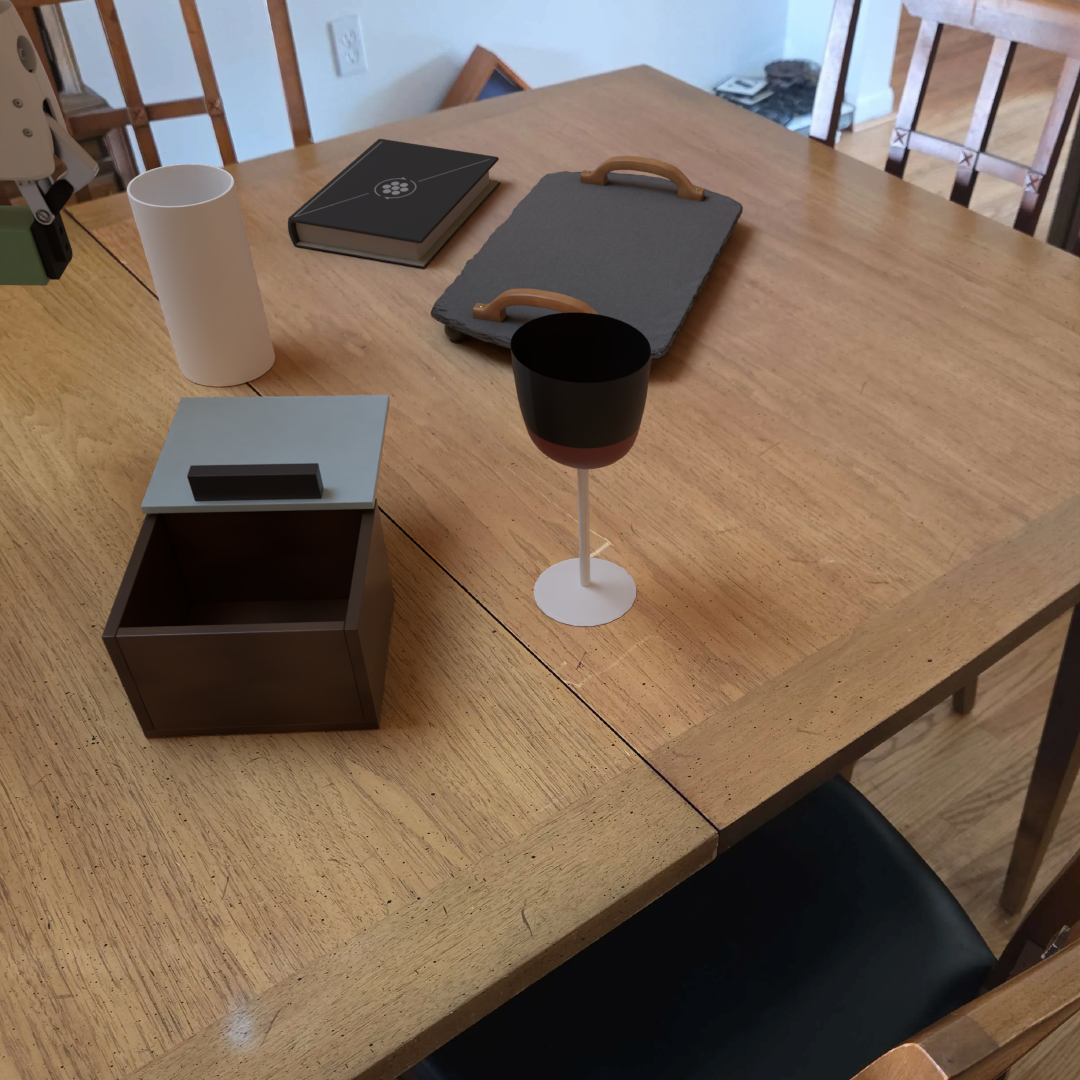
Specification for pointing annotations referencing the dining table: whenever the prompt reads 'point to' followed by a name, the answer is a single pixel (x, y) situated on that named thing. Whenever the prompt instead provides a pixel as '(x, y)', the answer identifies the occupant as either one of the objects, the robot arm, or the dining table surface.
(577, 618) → the wineglass
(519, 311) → the serving tray
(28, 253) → the block
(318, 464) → the sliding box lid
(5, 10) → the robot arm
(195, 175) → the cup
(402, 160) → the book
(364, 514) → the case
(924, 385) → the dining table surface
